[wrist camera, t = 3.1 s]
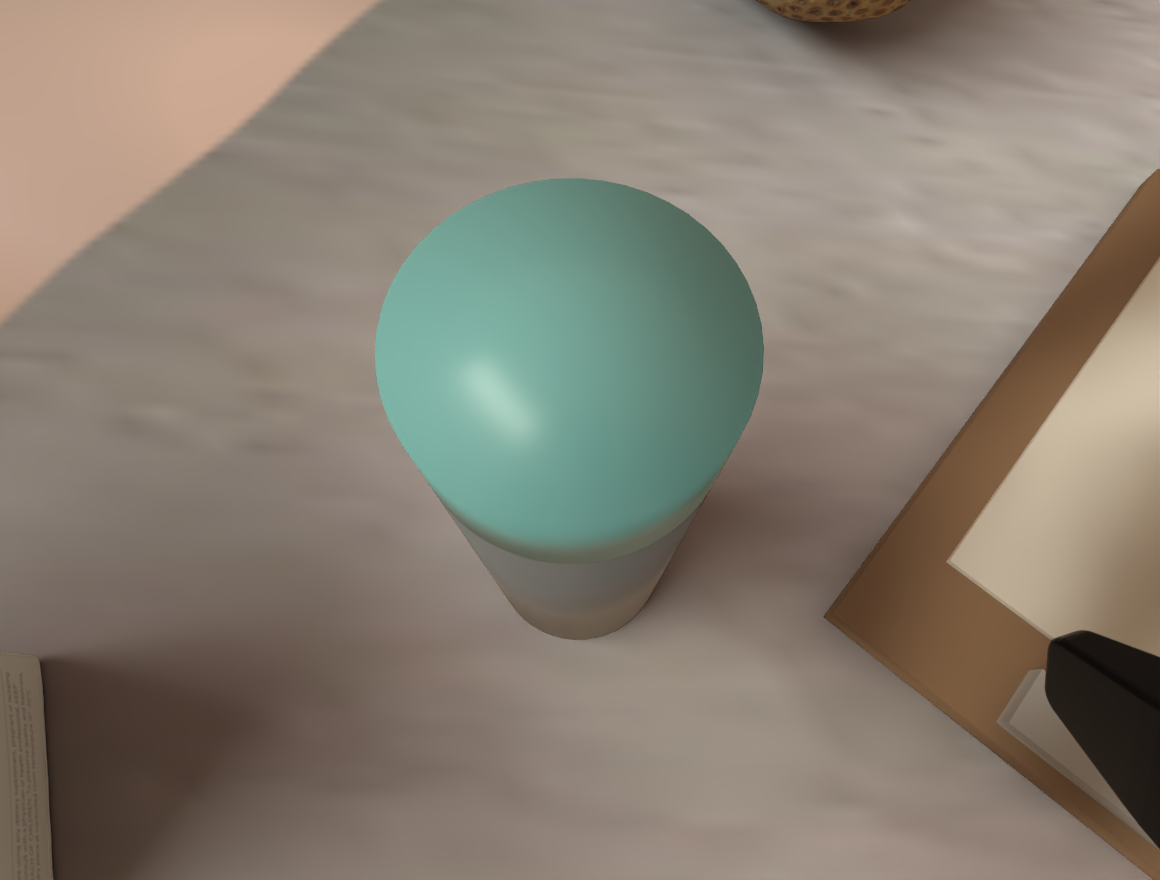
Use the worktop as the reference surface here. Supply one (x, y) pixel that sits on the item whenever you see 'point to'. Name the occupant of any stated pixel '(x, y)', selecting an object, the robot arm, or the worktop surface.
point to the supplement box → (23, 772)
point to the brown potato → (833, 9)
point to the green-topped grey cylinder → (570, 387)
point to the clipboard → (1038, 529)
